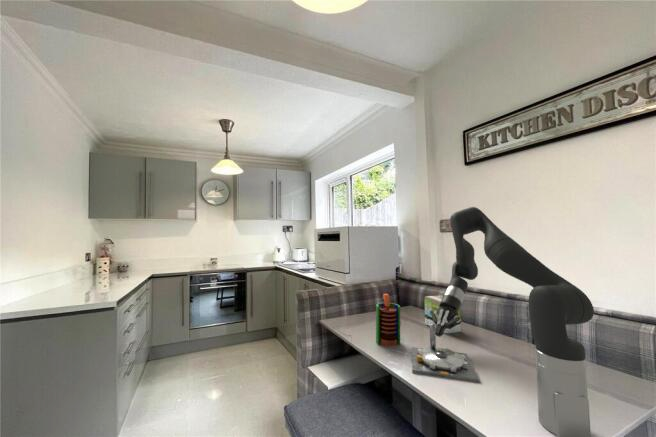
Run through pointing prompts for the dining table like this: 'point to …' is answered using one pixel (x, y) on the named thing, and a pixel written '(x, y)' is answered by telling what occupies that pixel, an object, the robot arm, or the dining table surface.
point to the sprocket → (440, 356)
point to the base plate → (460, 374)
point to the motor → (387, 323)
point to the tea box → (432, 305)
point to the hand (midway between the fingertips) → (437, 335)
